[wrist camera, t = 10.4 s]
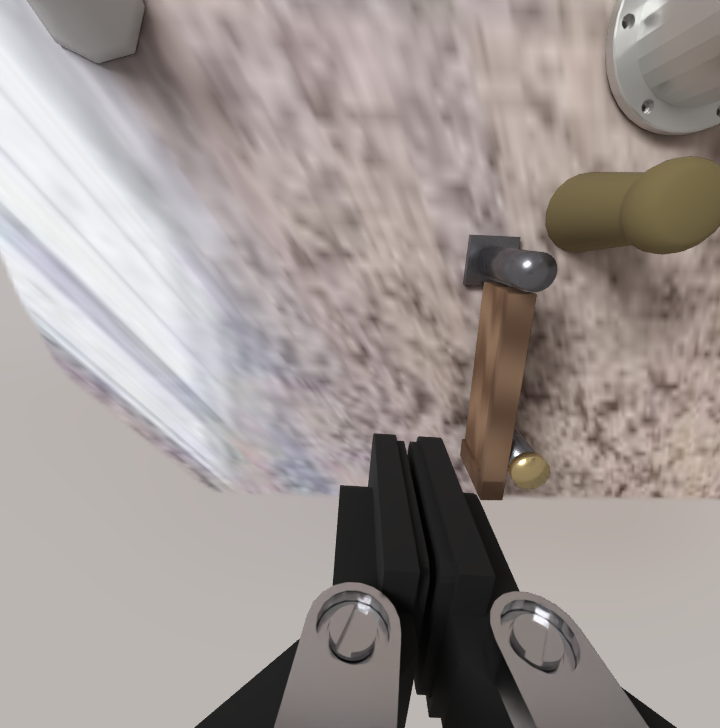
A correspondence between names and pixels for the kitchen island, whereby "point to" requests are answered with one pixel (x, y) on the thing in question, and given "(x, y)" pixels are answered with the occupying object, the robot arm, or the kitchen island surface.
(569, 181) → the olive rounded lobed piece
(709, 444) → the kitchen island surface
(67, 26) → the flask
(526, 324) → the brown wooden plank
